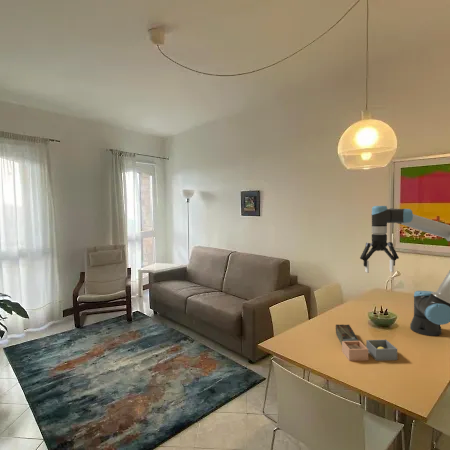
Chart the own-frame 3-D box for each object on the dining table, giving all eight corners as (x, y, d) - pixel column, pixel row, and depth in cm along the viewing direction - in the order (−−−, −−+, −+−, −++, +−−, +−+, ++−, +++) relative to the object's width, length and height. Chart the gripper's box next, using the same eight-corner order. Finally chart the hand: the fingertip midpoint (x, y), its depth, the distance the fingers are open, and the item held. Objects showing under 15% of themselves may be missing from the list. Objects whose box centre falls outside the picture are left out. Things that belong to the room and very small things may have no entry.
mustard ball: (383, 353, 150) (383, 345, 150) (387, 357, 146) (387, 349, 146) (375, 353, 150) (375, 345, 150) (379, 357, 146) (379, 349, 146)
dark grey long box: (342, 350, 156) (342, 337, 155) (335, 334, 175) (335, 323, 174) (358, 350, 155) (358, 338, 154) (349, 334, 174) (349, 323, 173)
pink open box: (359, 352, 152) (359, 340, 152) (368, 361, 144) (368, 349, 143) (342, 352, 153) (341, 341, 152) (349, 362, 144) (349, 349, 143)
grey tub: (386, 351, 153) (386, 339, 153) (397, 361, 143) (397, 348, 143) (366, 351, 153) (366, 340, 153) (376, 361, 143) (376, 349, 143)
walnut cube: (355, 353, 151) (355, 344, 150) (361, 357, 146) (361, 348, 146) (347, 354, 150) (347, 345, 149) (353, 358, 145) (353, 349, 145)
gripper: (398, 232, 170) (397, 269, 171) (353, 233, 170) (353, 271, 171) (406, 233, 162) (405, 272, 164) (359, 235, 163) (359, 274, 164)
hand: (379, 271), depth 168 cm, fingers open, 13 cm apart
